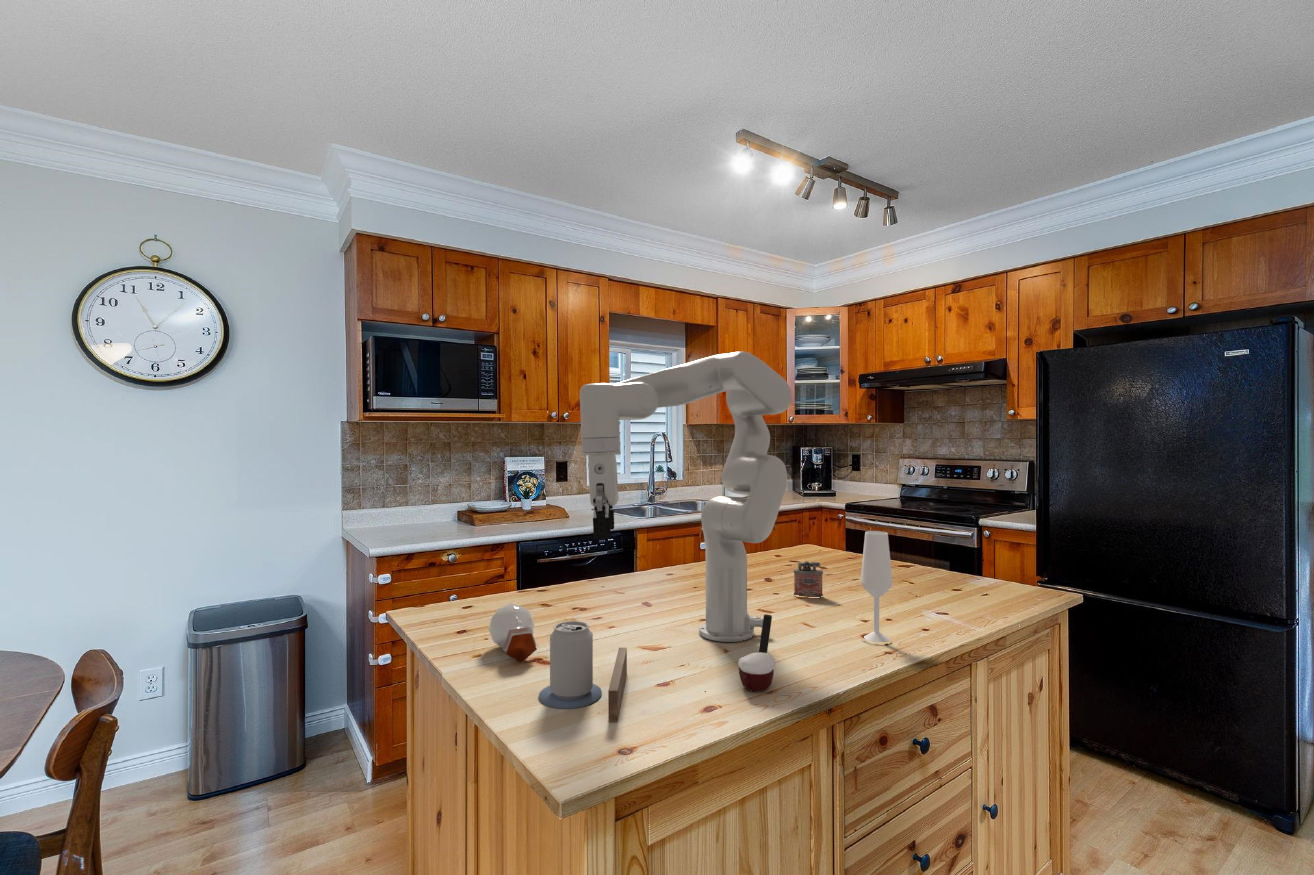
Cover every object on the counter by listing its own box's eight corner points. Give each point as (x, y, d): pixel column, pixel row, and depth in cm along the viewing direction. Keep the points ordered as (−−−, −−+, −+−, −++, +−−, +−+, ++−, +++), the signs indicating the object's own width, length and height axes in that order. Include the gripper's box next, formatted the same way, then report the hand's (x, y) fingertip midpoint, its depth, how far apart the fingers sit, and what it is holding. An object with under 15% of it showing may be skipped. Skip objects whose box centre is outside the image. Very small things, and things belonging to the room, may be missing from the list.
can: (585, 703, 105) (585, 633, 105) (543, 699, 107) (543, 630, 107) (597, 686, 113) (597, 620, 113) (558, 683, 114) (558, 617, 114)
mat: (604, 682, 115) (604, 681, 115) (597, 709, 104) (597, 707, 104) (545, 682, 115) (545, 680, 115) (532, 708, 104) (532, 706, 104)
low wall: (626, 673, 119) (626, 647, 119) (617, 721, 99) (617, 690, 99) (619, 673, 119) (618, 647, 119) (608, 721, 99) (608, 690, 99)
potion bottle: (512, 645, 140) (527, 676, 126) (476, 625, 136) (488, 655, 122) (537, 610, 141) (554, 637, 127) (502, 590, 137) (516, 615, 123)
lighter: (794, 597, 174) (794, 562, 174) (793, 594, 177) (793, 559, 177) (823, 599, 173) (823, 563, 173) (822, 595, 176) (822, 560, 176)
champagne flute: (885, 647, 133) (885, 536, 133) (855, 640, 138) (855, 533, 138) (897, 640, 138) (897, 532, 138) (868, 633, 143) (868, 529, 143)
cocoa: (749, 701, 108) (748, 633, 107) (726, 687, 113) (726, 622, 112) (789, 686, 113) (789, 622, 112) (766, 674, 118) (765, 612, 117)
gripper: (617, 448, 112) (621, 542, 113) (622, 444, 130) (625, 525, 130) (576, 449, 112) (579, 543, 113) (586, 445, 130) (590, 526, 130)
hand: (604, 533), depth 122 cm, fingers open, 9 cm apart
